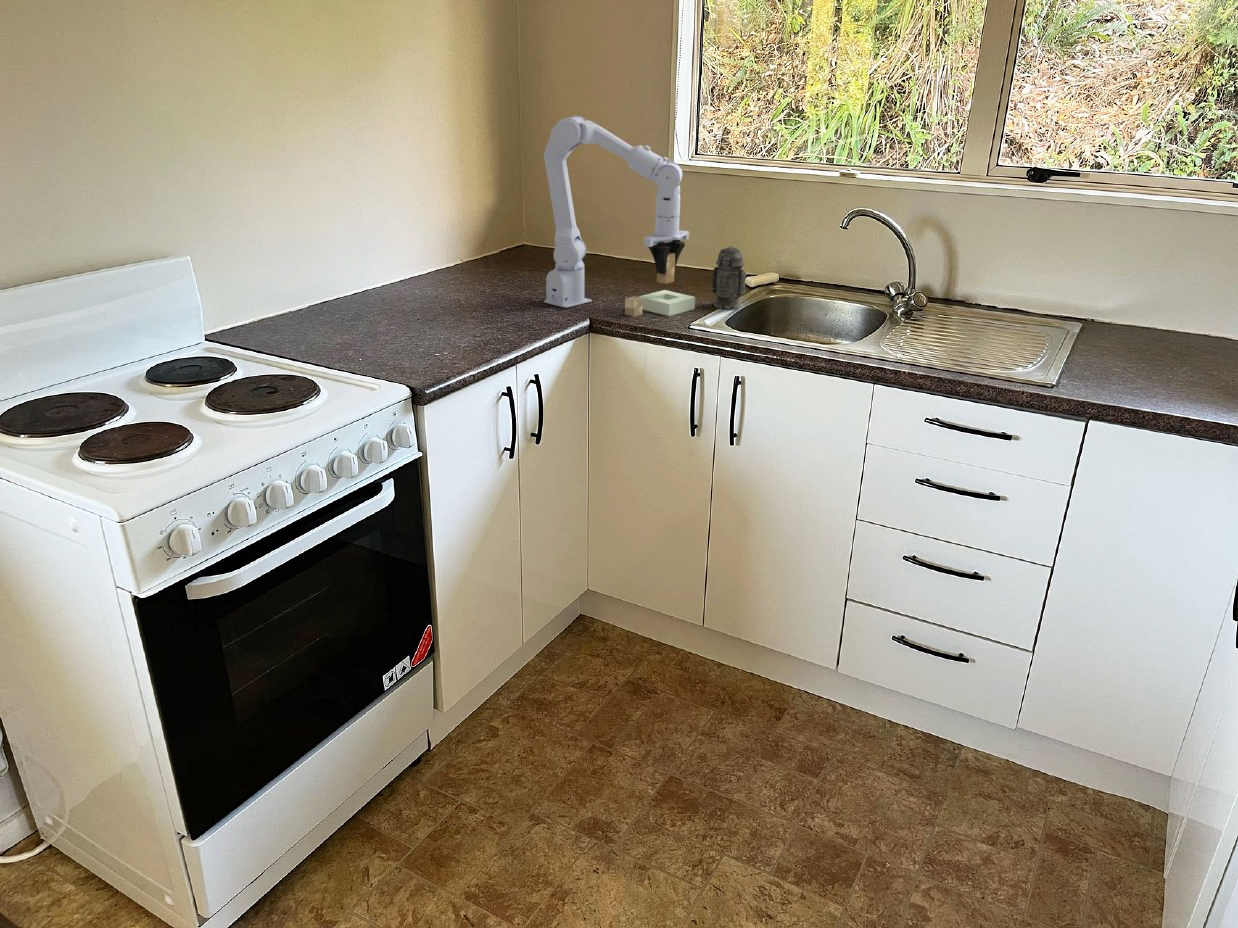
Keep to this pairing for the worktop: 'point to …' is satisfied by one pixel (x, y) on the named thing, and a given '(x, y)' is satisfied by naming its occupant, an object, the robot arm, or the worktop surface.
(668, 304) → the socket
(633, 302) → the short pin
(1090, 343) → the worktop surface
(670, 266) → the long pin
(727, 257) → the toy
